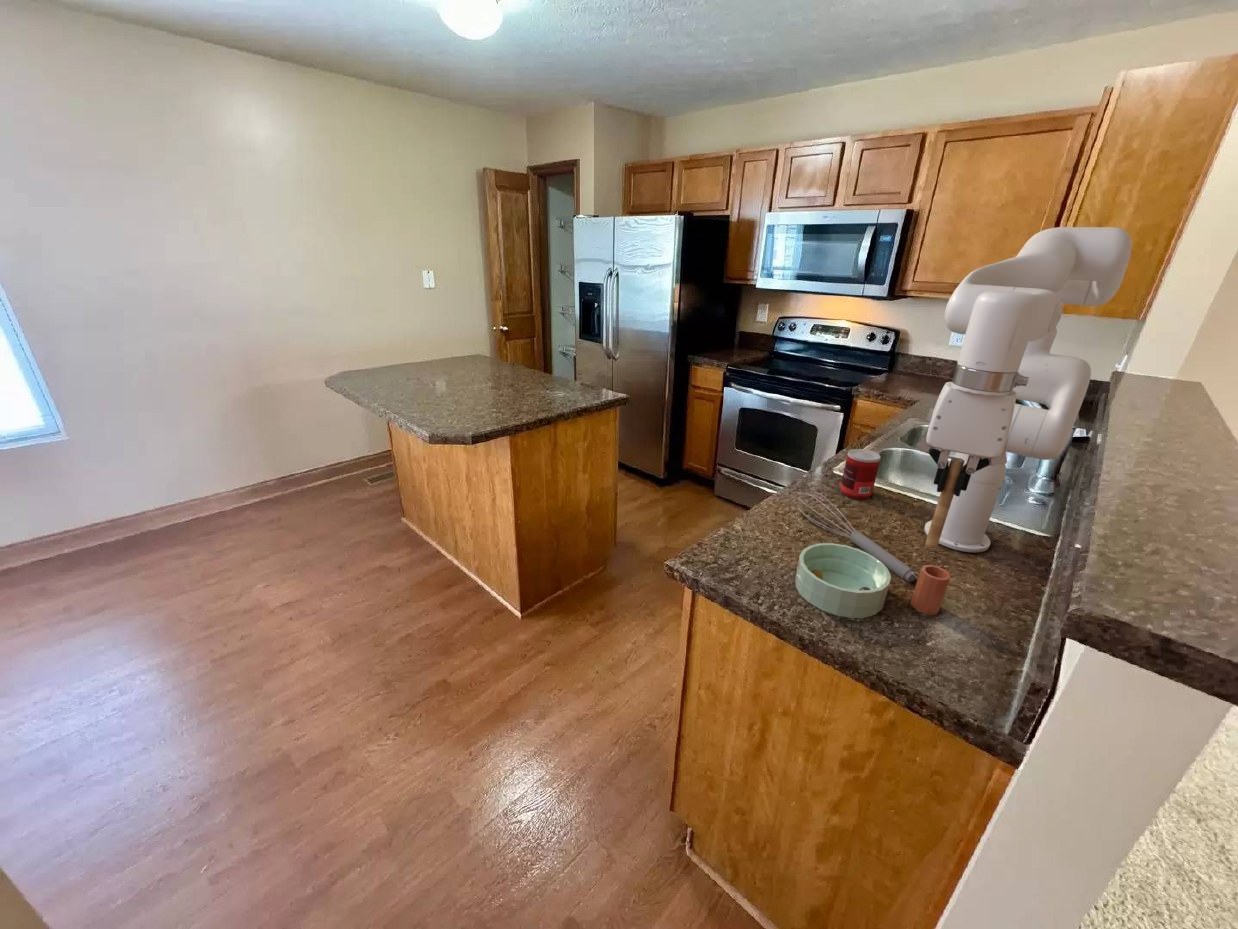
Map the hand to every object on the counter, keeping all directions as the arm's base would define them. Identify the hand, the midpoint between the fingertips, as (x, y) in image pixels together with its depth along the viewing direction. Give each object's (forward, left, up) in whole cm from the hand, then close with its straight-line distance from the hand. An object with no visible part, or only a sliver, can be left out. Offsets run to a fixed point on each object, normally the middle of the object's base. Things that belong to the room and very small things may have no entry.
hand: (948, 490), depth 83 cm
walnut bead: (+3, -8, -22) cm, 23 cm away
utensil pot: (-1, +2, -24) cm, 24 cm away
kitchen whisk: (-17, -13, -24) cm, 32 cm away
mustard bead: (+3, -16, -22) cm, 27 cm away
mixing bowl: (+3, -12, -24) cm, 27 cm away
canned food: (-44, -17, -24) cm, 53 cm away
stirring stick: (0, 0, -11) cm, 11 cm away
